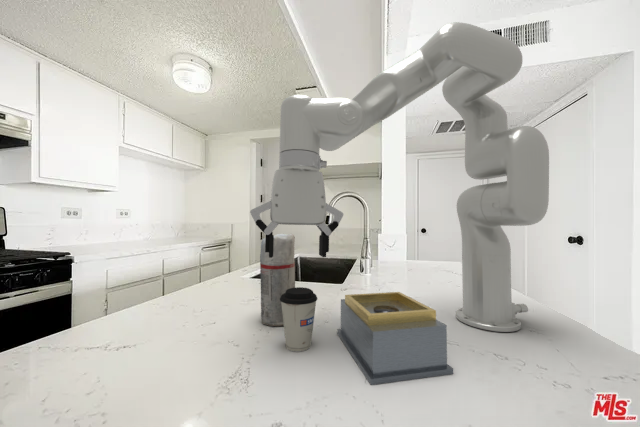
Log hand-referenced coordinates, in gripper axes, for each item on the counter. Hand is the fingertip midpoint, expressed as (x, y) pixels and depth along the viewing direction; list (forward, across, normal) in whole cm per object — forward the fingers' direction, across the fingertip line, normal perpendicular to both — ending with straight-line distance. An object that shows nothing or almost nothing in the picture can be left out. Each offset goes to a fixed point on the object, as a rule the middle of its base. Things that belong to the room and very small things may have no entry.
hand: (297, 256), depth 48 cm
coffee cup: (+16, -1, 0) cm, 17 cm away
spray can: (+16, +2, -13) cm, 21 cm away
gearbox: (+16, -16, +5) cm, 23 cm away
